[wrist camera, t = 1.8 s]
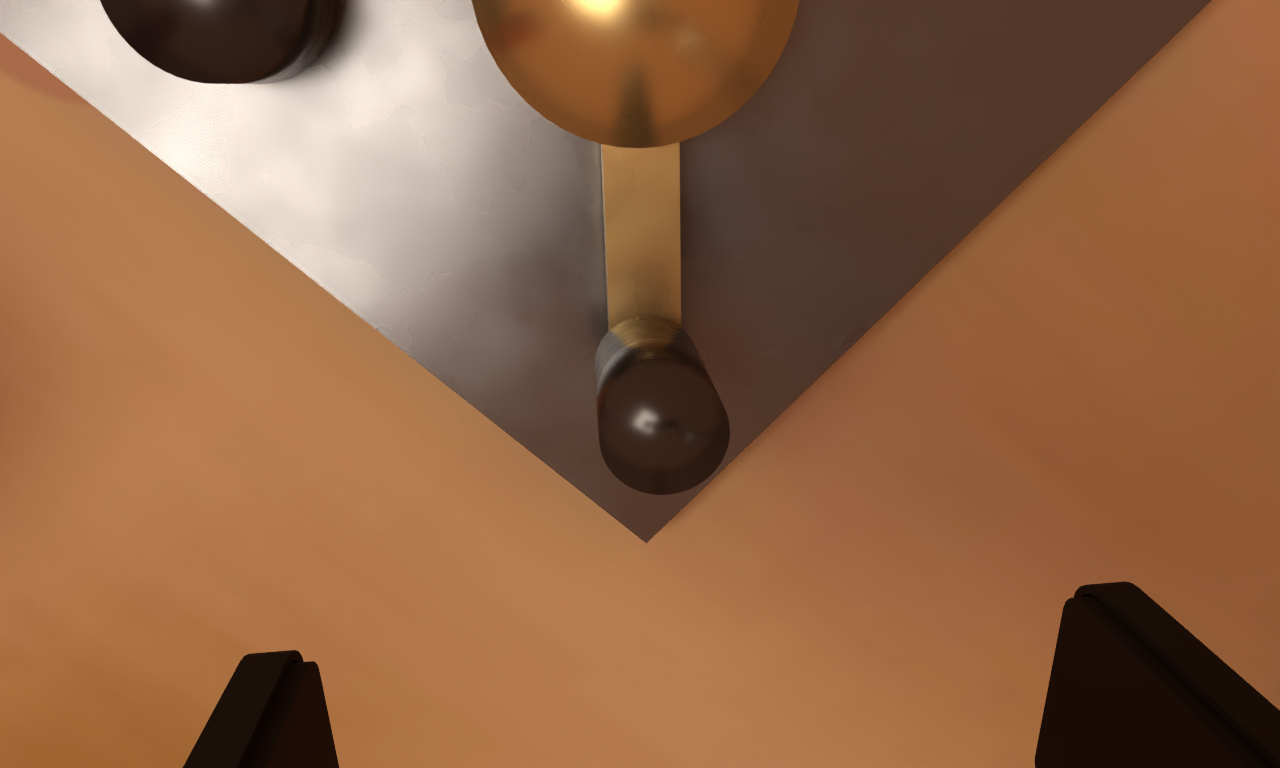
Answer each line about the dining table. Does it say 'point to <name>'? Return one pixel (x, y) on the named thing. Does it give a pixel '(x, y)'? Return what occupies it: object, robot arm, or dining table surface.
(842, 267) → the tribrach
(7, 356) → the dining table surface
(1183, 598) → the dining table surface
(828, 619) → the dining table surface
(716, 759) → the dining table surface
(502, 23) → the crank dial
